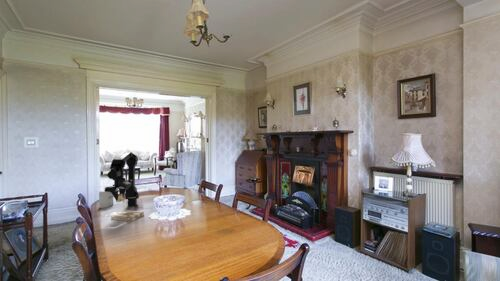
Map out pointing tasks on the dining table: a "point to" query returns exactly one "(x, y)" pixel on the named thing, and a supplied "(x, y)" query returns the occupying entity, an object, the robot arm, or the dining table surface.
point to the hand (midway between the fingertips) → (119, 199)
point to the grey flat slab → (113, 214)
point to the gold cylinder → (119, 197)
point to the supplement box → (105, 199)
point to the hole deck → (131, 217)
